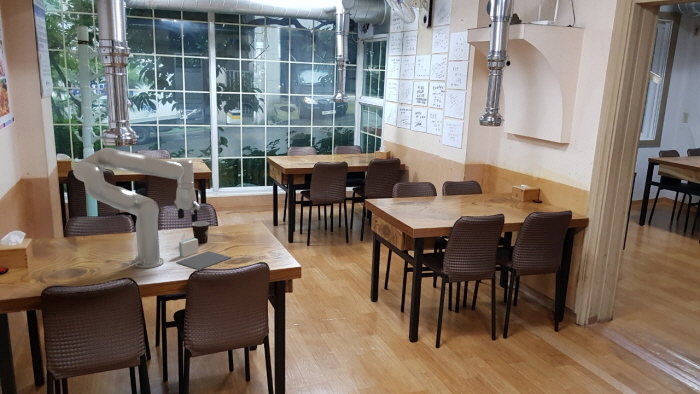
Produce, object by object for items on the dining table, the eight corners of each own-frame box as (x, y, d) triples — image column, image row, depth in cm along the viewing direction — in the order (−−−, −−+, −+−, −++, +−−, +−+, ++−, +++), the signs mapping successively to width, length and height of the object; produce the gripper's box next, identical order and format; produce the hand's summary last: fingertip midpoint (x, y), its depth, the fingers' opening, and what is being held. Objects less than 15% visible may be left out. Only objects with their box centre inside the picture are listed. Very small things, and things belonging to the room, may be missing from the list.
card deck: (184, 257, 253) (183, 243, 252) (179, 256, 255) (179, 242, 253) (198, 252, 261) (197, 239, 259) (194, 251, 262) (193, 238, 261)
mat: (199, 270, 237) (199, 269, 237) (176, 262, 245) (176, 262, 245) (231, 258, 253) (231, 257, 253) (208, 251, 262) (208, 251, 262)
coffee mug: (199, 245, 271) (198, 227, 269) (189, 242, 276) (188, 224, 274) (217, 240, 280) (216, 222, 278) (207, 237, 285) (206, 219, 283)
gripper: (167, 184, 252) (169, 218, 256) (191, 189, 243) (193, 224, 246) (180, 182, 258) (182, 215, 262) (204, 186, 249) (206, 221, 253)
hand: (187, 219), depth 254 cm, fingers open, 9 cm apart
